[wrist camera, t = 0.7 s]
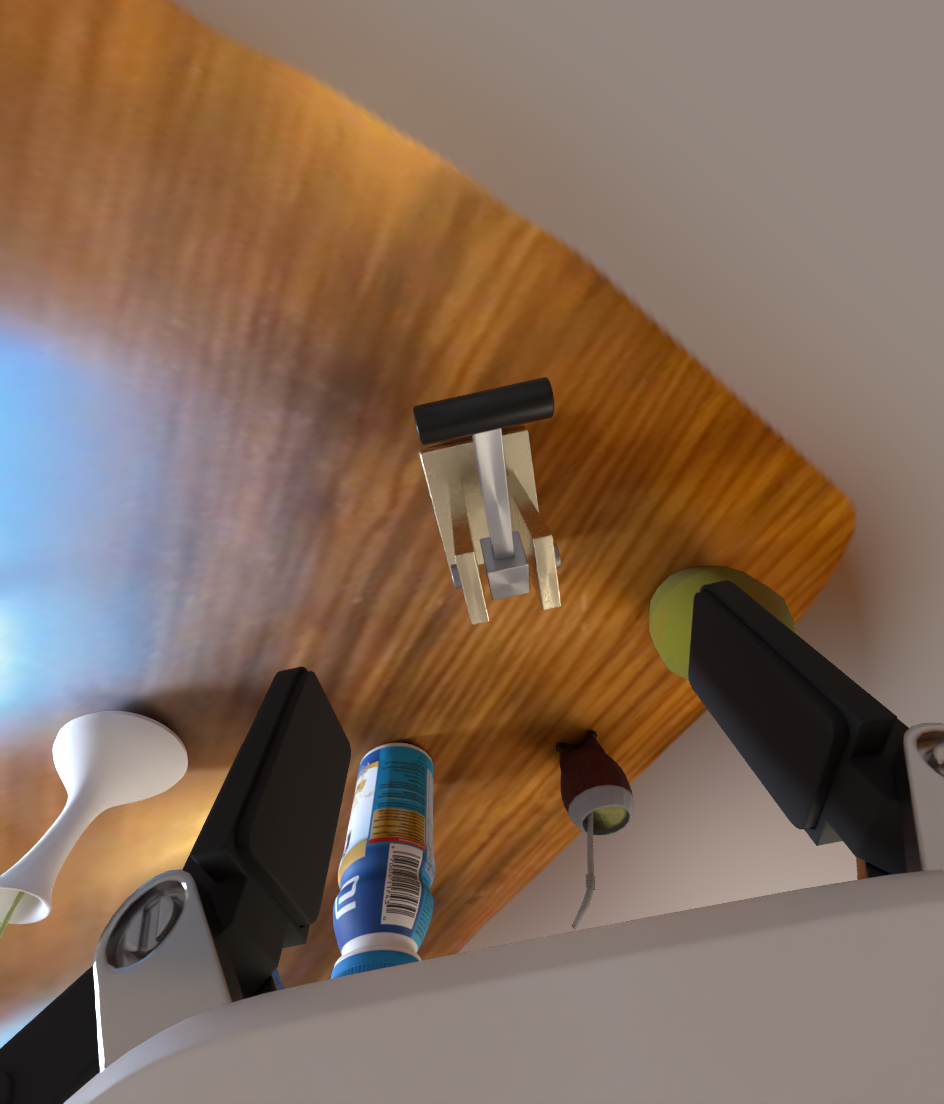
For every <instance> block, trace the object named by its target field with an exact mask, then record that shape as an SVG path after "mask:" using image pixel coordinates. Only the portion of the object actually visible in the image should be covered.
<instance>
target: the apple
mask: <svg viewBox="0 0 944 1104" xmlns="http://www.w3.org/2000/svg"><path fill="white" fill-rule="evenodd" d="M726 580H728V581H731V582H733V583H734V584H736V585H737V586H738V587H739V588H740V589H742V590H743V591H744V592H745V593H747V594H748V595H749V596H750V597H751V598H753V599H754V600H755V601H756V602H758V603H759V604H760V605H761V606H762V607H764V608H765V609H766V610H767V611H769V612H770V613H771V614H772V615H773V616H775V617H776V618H777V619H778V620H780V621H781V622H782V623H783V624H784V625H786V626H787V627H788V628H789V629H790V630H792V631H793V632H794V633H795V628H794V622H793V618H792V616H791V614H790V612H789V610H788V607H787V605H786V603H785V601H784V599H783V598H782V597H781V596H779V595H778V594H777V593H775V592H774V591H773V590H771V589H770V588H769V587H767V586H765V585H764V584H762V583H761V582H759V581H757V580H756V579H754V578H752V577H751V576H749V575H748V574H746V573H744V572H741V571H738V570H735V569H732V568H728V567H719V566H699V567H689V568H685V569H683V570H681V571H678V572H676V573H674V574H672V575H670V576H669V577H668V578H667V579H666V580H665V581H664V582H663V583H662V584H661V585H660V586H659V587H658V588H657V590H656V592H655V594H654V595H653V597H652V599H651V601H650V611H649V627H650V635H651V637H652V640H653V643H654V645H655V648H656V649H657V651H658V653H659V655H660V656H661V658H662V660H663V662H664V663H665V665H666V667H667V669H668V670H670V671H672V672H674V673H675V674H677V675H679V676H681V677H683V678H685V679H686V680H688V681H689V678H688V668H689V654H690V641H691V628H692V615H693V601H694V595H695V594H696V593H698V592H700V588H701V587H702V586H703V585H706V584H711V583H716V582H721V581H726Z"/></svg>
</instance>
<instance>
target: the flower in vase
mask: <svg viewBox="0 0 944 1104" xmlns="http://www.w3.org/2000/svg"><path fill="white" fill-rule="evenodd" d="M53 757H54V762H55V766H56V769H57V771H58V774H59V776H60V778H61V780H62V782H63V783H64V785H65V787H66V789H67V792H68V801H67V805H66V806H65V808H64V810H63V812H62V813H61V815H60V816H59V817H58V819H57V820H56V821H55V823H54V824H53V825H52V827H51V828H50V829H49V830H48V831H47V832H46V834H45V835H44V836H43V837H42V838H41V839H40V840H39V841H38V843H37V844H36V845H35V846H34V847H33V848H32V849H31V850H30V851H29V852H28V853H27V854H26V855H25V856H24V857H23V858H22V859H21V860H19V861H18V862H17V863H16V864H15V865H14V866H13V867H12V868H10V869H9V870H8V871H6V872H5V873H4V874H2V875H1V876H0V922H2V924H1V926H0V938H1V936H2V934H3V932H4V930H5V928H6V926H7V924H8V923H9V924H27V923H33V922H37V921H40V920H42V919H44V918H46V917H47V916H48V915H49V913H50V911H51V896H52V889H53V886H54V883H55V880H56V877H57V875H58V873H59V871H60V869H61V867H62V865H63V863H64V861H65V860H66V858H67V856H68V854H69V853H70V851H71V849H72V848H73V846H74V845H75V843H76V842H77V840H78V839H79V837H80V836H81V834H82V833H83V832H84V831H85V829H86V828H87V827H88V825H89V824H90V823H91V822H92V821H93V820H94V819H95V818H96V817H97V816H98V815H99V814H100V813H101V812H103V811H104V810H106V809H108V808H110V807H114V806H118V805H122V804H127V803H132V802H136V801H140V800H144V799H147V798H150V797H152V796H155V795H158V794H160V793H163V792H165V791H166V790H168V789H170V788H171V787H172V786H173V785H175V784H176V783H177V782H178V781H179V780H180V779H181V778H182V777H183V776H184V774H185V773H186V770H187V767H188V757H187V751H186V748H185V746H184V744H183V742H182V741H181V739H180V738H179V737H178V736H177V735H176V734H175V733H174V732H173V731H172V730H171V729H169V728H168V727H166V726H165V725H163V724H161V723H160V722H158V721H156V720H153V719H151V718H149V717H146V716H143V715H140V714H136V713H131V712H125V711H99V712H94V713H90V714H87V715H84V716H81V717H78V718H76V719H73V720H71V721H70V722H68V723H67V724H65V725H64V726H63V727H62V728H61V730H60V731H59V733H58V735H57V738H56V740H55V742H54V745H53Z"/></svg>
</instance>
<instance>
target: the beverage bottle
mask: <svg viewBox="0 0 944 1104" xmlns="http://www.w3.org/2000/svg"><path fill="white" fill-rule="evenodd" d="M433 778H434V766H433V762H432V760H431V758H430V756H429V755H428V754H427V753H426V752H425V751H424V750H422V749H421V748H419V747H417V746H414V745H411V744H407V743H388V744H384V745H381V746H378V747H376V748H374V749H372V750H371V751H370V752H368V753H367V754H366V755H365V756H364V758H363V759H362V761H361V763H360V766H359V771H358V780H357V785H356V790H355V796H354V801H353V806H352V812H351V817H350V822H349V827H348V833H347V838H346V843H345V848H344V854H343V857H342V859H341V862H340V866H339V872H338V883H339V887H340V893H339V895H338V896H337V898H336V900H335V902H334V907H333V923H334V930H335V935H336V939H337V942H338V946H339V948H340V951H341V954H342V957H340V958H339V959H338V960H337V962H336V964H335V966H334V969H333V972H332V975H331V979H333V978H338V977H342V976H347V975H351V974H356V973H361V972H366V971H372V970H377V969H382V968H387V967H392V966H397V965H402V964H407V963H413V962H418V961H421V958H420V957H419V955H418V954H416V952H417V951H418V949H419V947H420V945H421V943H422V941H423V939H424V937H425V934H426V932H427V929H428V927H429V924H430V920H431V916H432V911H433V897H432V895H431V892H430V887H431V885H432V883H433V880H434V874H435V859H434V855H433Z"/></svg>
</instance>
